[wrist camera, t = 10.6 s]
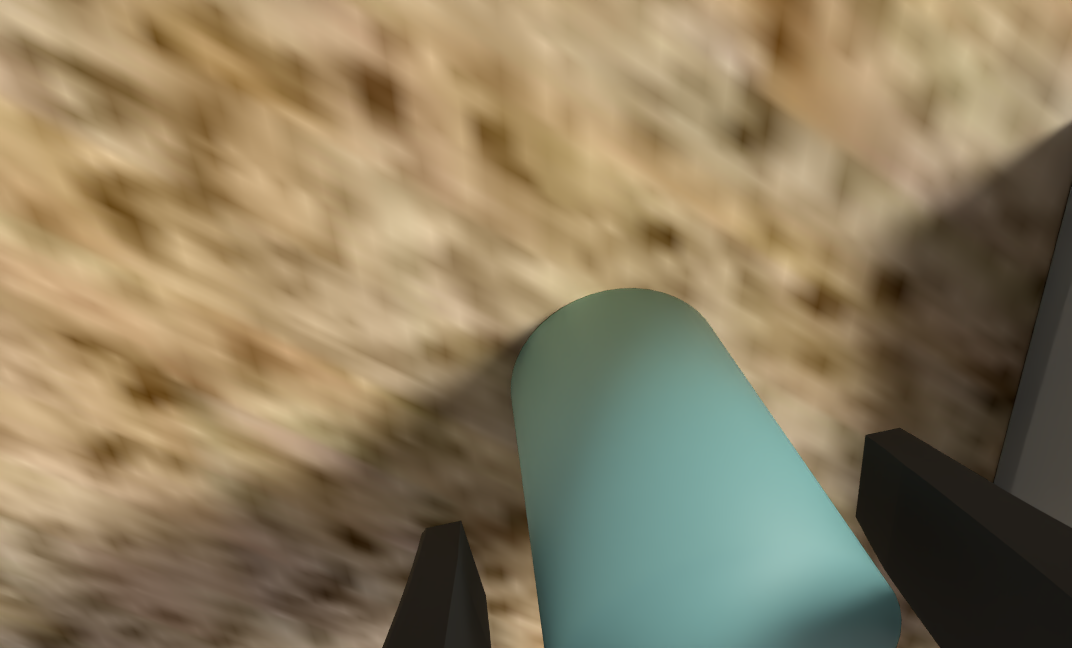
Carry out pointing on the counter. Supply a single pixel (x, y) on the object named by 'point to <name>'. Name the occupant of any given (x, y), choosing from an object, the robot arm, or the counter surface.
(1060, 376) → the tote
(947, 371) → the counter surface
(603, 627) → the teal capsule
